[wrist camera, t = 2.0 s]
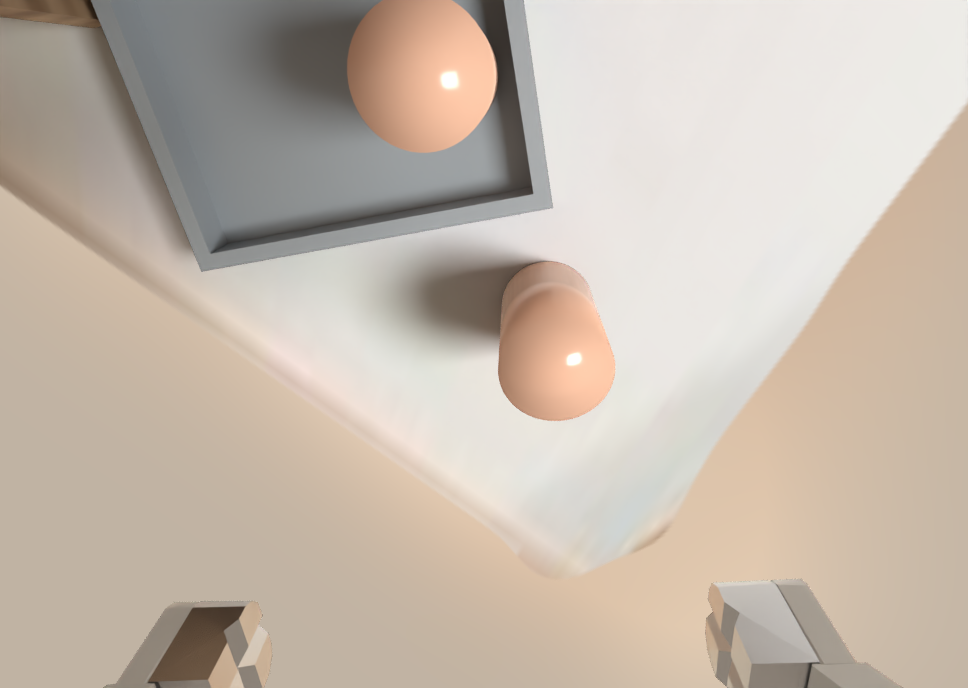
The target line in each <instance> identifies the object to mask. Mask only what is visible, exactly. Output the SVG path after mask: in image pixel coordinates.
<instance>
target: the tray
mask: <svg viewBox="0 0 968 688" xmlns="http://www.w3.org/2000/svg"><path fill="white" fill-rule="evenodd" d="M381 1H382V0H91V2H92V4H93V7H94V9H95V12H96V14H97V17H98V19H99V22H100V24H101V26H102V29H103V31H104V34H105V36H106V39H107V41H108V44H109V46H110V48H111V51H112V53H113V56H114V58H115V61H116V63H117V66H118V68H119V71H120V73H121V75H122V78H123V80H124V83H125V85H126V88H127V90H128V93H129V95H130V98H131V100H132V102H133V105H134V107H135V110H136V112H137V115H138V117H139V120H140V122H141V125H142V127H143V129H144V132H145V134H146V137H147V139H148V142H149V144H150V147H151V149H152V152H153V154H154V156H155V159H156V161H157V164H158V166H159V169H160V171H161V174H162V176H163V179H164V181H165V183H166V186H167V188H168V191H169V193H170V196H171V198H172V201H173V203H174V205H175V208H176V210H177V213H178V215H179V218H180V220H181V223H182V225H183V228H184V230H185V232H186V235H187V237H188V240H189V242H190V245H191V247H192V250H193V252H194V255H195V257H196V259H197V262H198V264H199V267H200V269H201V272H202V271H208V270H213V269H219V268H224V267H230V266H235V265H241V264H247V263H252V262H258V261H263V260H269V259H274V258H280V257H285V256H291V255H296V254H302V253H307V252H313V251H318V250H324V249H329V248H335V247H340V246H346V245H351V244H357V243H363V242H368V241H374V240H379V239H385V238H390V237H396V236H401V235H407V234H412V233H418V232H423V231H429V230H434V229H440V228H445V227H451V226H456V225H462V224H467V223H473V222H479V221H484V220H490V219H495V218H501V217H506V216H512V215H517V214H523V213H528V212H534V211H539V210H545V209H550V208H553V205H552V198H551V190H550V183H549V176H548V169H547V162H546V155H545V148H544V141H543V134H542V127H541V120H540V113H539V106H538V99H537V92H536V84H535V77H534V70H533V63H532V56H531V49H530V42H529V35H528V28H527V21H526V14H525V7H524V0H452V1H454V2H455V3H457V4H458V5H460V6H461V7H462V8H463V9H464V10H465V11H467V12H468V13H469V14H470V16H471V17H472V18H473V19H474V20H475V21H476V23H477V24H478V26H479V27H480V29H481V30H482V32H483V33H484V35H485V36H486V38H487V39H488V41H489V42H490V44H491V46H492V48H493V50H494V52H495V55H496V58H497V62H498V68H499V84H498V90H497V94H496V97H495V99H494V102H493V104H492V106H491V108H490V109H489V111H488V112H487V114H486V115H485V116H484V117H483V119H482V120H481V121H480V123H479V124H478V125H477V126H476V128H475V129H474V130H473V131H472V132H471V133H470V134H469V135H468V136H467V137H466V138H464V139H463V140H462V141H460V142H459V143H457V144H455V145H454V146H452V147H449V148H447V149H444V150H441V151H437V152H430V153H417V152H410V151H406V150H403V149H400V148H397V147H395V146H393V145H391V144H389V143H388V142H386V141H384V140H383V139H382V138H380V137H379V136H378V135H377V134H375V133H374V132H373V131H372V130H371V129H370V128H369V126H368V125H367V124H366V123H365V121H364V120H363V119H362V117H361V115H360V114H359V112H358V110H357V108H356V106H355V104H354V102H353V99H352V96H351V93H350V89H349V84H348V76H347V59H348V52H349V47H350V44H351V40H352V38H353V35H354V33H355V31H356V29H357V27H358V25H359V24H360V22H361V20H362V19H363V18H364V16H365V15H366V14H367V13H368V12H369V11H370V10H371V9H372V8H373V7H374V6H375V5H376V4H378V3H379V2H381Z"/></svg>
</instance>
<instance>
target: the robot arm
mask: <svg viewBox="0 0 968 688" xmlns="http://www.w3.org/2000/svg"><path fill="white" fill-rule="evenodd" d="M708 600H709V603H710V605H711V608H712V610H713V612H712V613H711V614H710V615H709V616H708V617H707V618H706V632H705V634H706V642H707V650H708V654H709V657H710V662H711V665H712V668H713V671H714V673H715V676H716V678H718V679H719V680H720V681H721V682H722V683H723V684H724V685H725V686H727V688H903V687H902V686H900V685H898V684H897V683H896V682H894V681H893V680H891V679H890V678H889V677H887V676H886V675H884V674H883V673H881V672H880V671H878V670H877V669H876V668H874V667H872V666H871V665H870V664H868V663H857V661H856V660H855V658H854V657H853V655H852V653H851V652H850V650H849V649H848V647H847V646H846V644H845V643H844V641H843V639H842V638H841V636H840V635H839V633H838V631H837V630H836V628H835V627H834V625H833V623H832V622H831V620H830V619H829V617H828V616H827V614H826V612H825V611H824V609H823V608H822V606H821V605H820V603H819V601H818V600H817V598H816V597H815V595H814V594H813V592H812V590H811V589H810V587H809V586H808V584H807V583H806V582H804V581H803V580H802V579H786V580H771V581H768V580H761V581H740V582H721V583H712V584H711V586H710V588H709V595H708ZM262 616H263V615H262V612H261V609H260V607H259V604H258V602H255V601H200V602H174V603H173V604H171V605H170V606H168V607H167V608H166V609H165V610H164V612H163V613H162V615H161V616H160V618H159V619H158V621H157V623H156V624H155V626H154V627H153V629H152V630H151V631H150V633H149V635H148V636H147V637H146V639H145V640H144V642H143V644H142V645H141V647H140V648H139V650H138V651H137V653H136V654H135V656H134V657H133V659H132V660H131V662H130V663H129V665H128V666H127V668H126V669H125V671H124V672H123V674H122V675H121V677H120V678H119V680H118V681H117V683H116V684H110V685H106V686H105V687H103V688H264V686H265V684H266V681H267V678H268V676H269V672H270V666H271V660H272V645H271V640H270V637H269V634H268V632H266V631H265V630H264V629H262V628H261V627H260V626H259V622H260V620H261V618H262Z"/></svg>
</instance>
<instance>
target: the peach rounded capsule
mask: <svg viewBox="0 0 968 688" xmlns="http://www.w3.org/2000/svg"><path fill="white" fill-rule="evenodd" d="M498 375H499V381H500V385H501V387H502V390H503V392H504V394H505V395H506V397H507V398H508V399H509V401H510V402H511V403H512V404H513V405H514V406H515V407H516V408H518V409H519V410H520V411H522V412H524V413H525V414H527V415H529V416H532V417H534V418H538V419H542V420H548V421H562V420H568V419H573V418H576V417H579V416H581V415H583V414H585V413H587V412H589V411H591V410H592V409H593V408H595V407H596V406H597V405H598V404H599V403H600V402H601V401H602V400H603V399H604V398H605V396H606V395H607V393H608V392H609V390H610V388H611V386H612V383H613V380H614V376H615V360H614V355H613V353H612V350H611V347H610V344H609V341H608V338H607V336H606V333H605V330H604V327H603V324H602V322H601V319H600V316H599V313H598V311H597V308H596V305H595V302H594V299H593V297H592V294H591V291H590V288H589V286H588V284H587V282H586V281H585V279H584V278H583V277H582V276H581V274H580V273H578V272H577V271H576V270H575V269H573V268H571V267H570V266H567V265H565V264H562V263H558V262H549V261H546V262H538V263H534V264H531V265H529V266H527V267H525V268H523V269H522V270H520V271H519V272H517V273H516V274H515V275H514V276H513V277H512V279H511V280H510V281H509V283H508V284H507V286H506V288H505V290H504V294H503V298H502V310H501V328H500V346H499V364H498Z"/></svg>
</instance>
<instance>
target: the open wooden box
mask: <svg viewBox="0 0 968 688" xmlns="http://www.w3.org/2000/svg"><path fill="white" fill-rule="evenodd" d="M0 17H6V18H15V19H23V20H31V21H40V22H48V23H56V24H65V25H73V26H82V27H90V28H96V27H100V26H101V24H100V22H99V19H98V17H97V14H96V12H95V9H94V7H93V4H92V2H91V0H0Z"/></svg>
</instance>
